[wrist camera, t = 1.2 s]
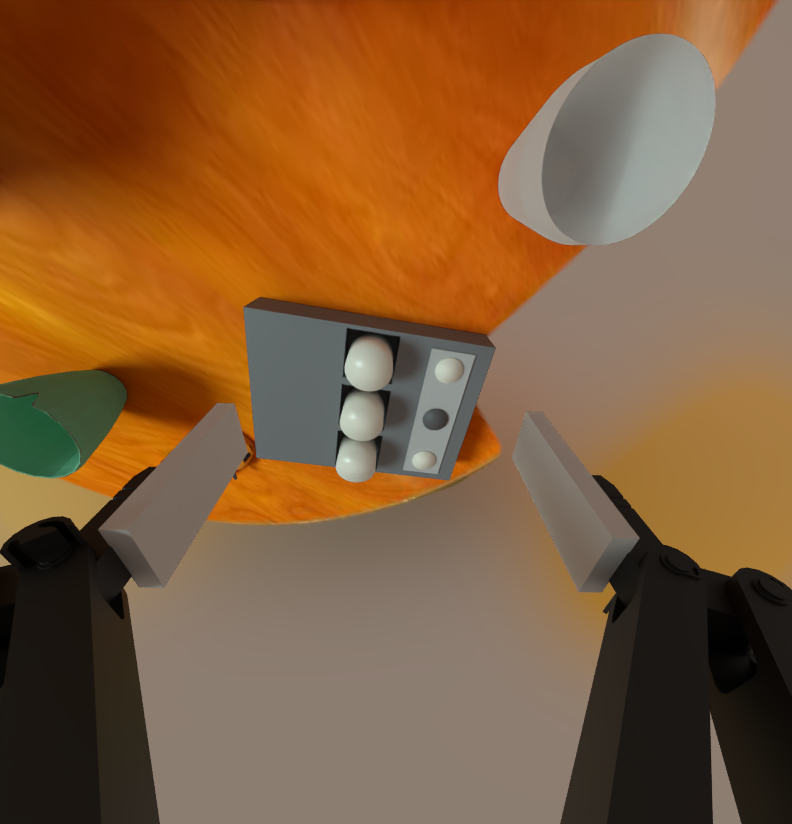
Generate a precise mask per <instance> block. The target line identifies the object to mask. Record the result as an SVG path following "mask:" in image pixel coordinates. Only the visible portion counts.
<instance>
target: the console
mask: <svg viewBox="0 0 792 824" xmlns="http://www.w3.org/2000/svg"><path fill="white" fill-rule="evenodd" d="M243 308H244V319H245V331H246V342H247V354H248V365H249V377H250V388H251V400H252V411H253V423H254V434H255V446H256V458H263V459H271V460H280V461H288V462H297V463H305V464H314V465H322V466H331V467H336V462H337V458H338V454H339V449H340V445H341V441H342V439H343V437H344V436H345V434H344V433H343V431H342V429H341V427H340V418H341V414H342V410H343V406H344V402H345V398H346V396H347V394H348V393H349V392H350V391H351V390H352V389H354V388H356V387H354V386H353V385H352V384H351V383H350V382H349V381H348V379H347V377H346V375H345V362H346V359H347V356H348V353H349V350H350V347H351V344H352V342H353V341H354V340H355V339H356V338H357V337H358V336H360V335H362V334H365V333H376V334H379V335H381V336H383V337H384V338H385V339H387V341H388V342H389V343H390V345H391V347H392V351H393V373H392V377H391V379H390V381H389V383H388V384H387V385H386V386H385V387H383V388H381V389H379V390H377V391H378V392H379V393H380V394H381V396H382V397H383V400H384V419H383V429H382V431H381V433H380V434H379V435H378V436H377V437H376V438H374V439H375V440H376V443H377V453H376V468H375V472H382V473H390V474H399V475H407V476H416V477H424V478H433V479H441V480H449V479H450V477H451V474H452V471H453V468H454V465H455V462H456V460H457V457H458V454H459V451H460V448H461V445H462V442H463V440H464V437H465V434H466V431H467V428H468V425H469V423H470V420H471V417H472V414H473V411H474V408H475V406H476V403H477V399H478V397H479V394H480V391H481V388H482V386H483V383H484V380H485V377H486V374H487V371H488V368H489V366H490V363H491V360H492V357H493V354H494V351H495V349H496V348H495V346H494V345H493V344H492V343H491V341H490V340H489V339H488V337H487V336H486V335H483V334H477V333H471V332H465V331H459V330H453V329H447V328H441V327H435V326H429V325H423V324H417V323H411V322H405V321H399V320H393V319H387V318H381V317H375V316H369V315H363V314H357V313H351V312H345V311H339V310H333V309H327V308H321V307H315V306H309V305H303V304H297V303H291V302H284V301H278V300H272V299H266V298H260V297H259V298H257V299H256V300H254V301H252V302H251V303H249V304H248V305H246V306H244V307H243Z"/></svg>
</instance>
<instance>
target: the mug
mask: <svg viewBox="0 0 792 824" xmlns="http://www.w3.org/2000/svg"><path fill="white" fill-rule="evenodd" d="M126 400H127V391H126V388H125V387H124V385H123V384H122V383H121V382H120V381H119V380H118V379H117V378H116V377H114V376H112V375H111V374H109V373H107V372H104V371H100V370H84V371H71V372H64V373H57V374H50V375H43V376H37V377H32V378H27V379H22V380H17V381H12V382H8V383H4V384H0V464H1V465H3V466H5V467H7V468H10V469H12V470H14V471H16V472H20V473H23V474H27V475H30V476H34V477H43V478H58V477H66V476H68V475H70V474H72V473H73V472H75V471H77V470H78V469H79V468H81V467H82V466H83V465H84V464H85V462H86V461H87V460H88V458H89V457H90V456H91V455H92V453H93V452H94V451H95V450H96V448H97V447H98V446H99V445H100V443H101V442H102V441H103V439H104V438H105V437H106V436H107V434H108V433H109V431H110V430H111V428H112V427H113V425H114V423H115V422H116V420H117V418H118V417H119V415H120V413H121V411H122V409H123V407H124V405H125V402H126Z"/></svg>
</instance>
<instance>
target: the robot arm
mask: <svg viewBox="0 0 792 824" xmlns="http://www.w3.org/2000/svg"><path fill="white" fill-rule="evenodd" d="M247 452H248V451H247V447H246V444H245V440H244V436H243V433H242V429H241V425H240V422H239V418H238V414H237V411H236V407H235V404H232V403H217V404H216V405H215V406H214V407H213V408H212V409H211V410H210V411H209V412H208V413H207V414H206V415H205V416H204V418H203V419H202V420H201V421H200V422H199V423H198V424H197V425H196V426H195V427H194V428H193V429H192V430H191V431H190V432H189V433H188V435H187V436H186V437H185V438H184V439H183V440H182V441H181V442H180V443H179V444H178V445H177V446H176V447H175V448H174V449H173V450H172V452H171V453H170V454H169V455H168V456H167V457H166V458H165V459H164V460H163V461H162V462H161V463H160V464H159V465H158V466H157V467H148V468H147V469H145V470H143V471H142V472H140V473H139V474H137V475H136V476H134V477H133V478H132V479H131V480H130V481H129V482H128V483H127V484H126V485H125V486H124V487H123V488H122V490H120V491H119V492H118V493H117V494H116V495H115V496H114V497H113V500H110V501H109V502H108V503H107V504H106V505H105V506H104V507H103V508H102V509H101V510H100V511H99V512H98V513H97V514H96V515H95V516H94V517H93V518H92V519H91V520H90V521H89V522H88V523H87V524H86V525H85V526H84V527H83V528H82V529H81V530H80V531H79V530H78V528H77V527H76V526H75V525H74V523H73V522H72V521H71V519H70V518H66V517H63V516H61V517H51V518H47V519H44V520H40V521H38V522H36V523H33V524H31V525H29V526H27V527H25V528H23V529H22V530H20V531H19V532H17V533H16V534H14V535H13V536H12V537H11V538H9V539H8V540H7V541H6V542H5V543H4V544H3V546H2V548H1V550H0V554H1V555H2V556H3V557H4V558H5V559H6V560H7V561H8V562H9V563H11V565H7V566H3V567H0V824H160V822H159V815H158V808H157V801H156V794H155V787H154V780H153V774H152V766H151V759H150V752H149V745H148V738H147V731H146V724H145V717H144V710H143V703H142V696H141V689H140V682H139V675H138V668H137V661H136V654H135V647H134V640H133V633H132V626H131V619H130V612H129V605H128V598H127V593H126V592H125V590H124V588H123V587H124V586H125V585H126V583H127V582H128V581H129V579H130V578H131V577H132V578H133V580H134V581H135V582H136V584H137V585H138V587H153V588H160V587H161V588H164V587H165V585H166V584H167V582H168V581H169V579H170V577H171V576H172V574H173V572H174V571H175V569H176V568H177V566H178V564H179V563H180V561H181V560H182V558H183V556H184V555H185V553H186V551H187V550H188V548H189V546H190V545H191V543H192V542H193V540H194V538H195V537H196V535H197V534H198V532H199V530H200V529H201V527H202V525H203V524H204V522H205V521H206V519H207V517H208V516H209V514H210V512H211V511H212V509H213V508H214V506H215V504H216V503H217V501H218V499H219V498H220V496H221V495H222V493H223V491H224V490H225V488H226V486H227V485H228V483H229V482H230V480H231V478H232V477H233V475H234V473H235V472H236V470H237V469H238V467H239V465H240V464H241V462H242V460H243V459H244V457H245V456H246V454H247ZM512 459H513V461H514V463H515V465H516V467H517V469H518V471H519V473H520V475H521V477H522V479H523V481H524V483H525V485H526V487H527V489H528V491H529V493H530V495H531V497H532V499H533V501H534V503H535V505H536V508H537V510H538V512H539V514H540V515H541V518H542V519H543V521H544V524H545V526H546V527H547V530H548V532H549V533H550V536H551V538H552V540H553V542H554V544H555V546H556V548H557V550H558V552H559V554H560V556H561V558H562V560H563V562H564V564H565V566H566V568H567V570H568V572H569V574H570V576H571V578H572V580H573V582H574V584H575V586H576V588H577V590H578V592H602V591H603V590H604V588H605V587H606V585H607V584H608V583H609V582H610V584H611V585H612V587H613V588H614V590H615V592H616V594H615V595H614V596H613V598H612V599H611V600H610V602H609V603H608V604H607V606H606V607H605V609H604V610H603V612H604V613H606V614H607V613H608V611H609V614H608V619H607V623H606V627H605V632H604V636H603V641H602V645H601V650H600V654H599V658H598V663H597V667H596V671H595V675H594V680H593V684H592V688H591V693H590V697H589V701H588V706H587V710H586V714H585V719H584V723H583V727H582V732H581V736H580V741H579V745H578V750H577V754H576V758H575V762H574V767H573V771H572V775H571V780H570V784H569V788H568V793H567V797H566V802H565V806H564V810H563V815H562V819H561V823H560V824H713V811H712V775H711V736H710V713H711V716H712V719H713V723H714V727H715V730H716V734H717V737H718V741H719V745H720V748H721V752H722V755H723V759H724V762H725V766H726V770H727V773H728V777H729V780H730V784H731V788H732V791H733V794H734V798H735V802H736V805H737V809H738V813H739V816H740V820H741V823H742V824H792V590H791V589H790V588H789V587H788V586H786V585H785V584H784V583H783V582H781V581H779V580H778V579H776V578H775V577H773V576H771V575H769V574H767V573H764V572H762V571H760V570H756V569H751V568H741V569H739V570H738V571H737V572H736V573H735V574H734V575H733V576H732V577H730V576H727V575H723V574H720V573H716V572H713V571H709V570H705V569H701V568H700V567H699V566H698V564H697V563H696V562H695V561H694V560H692V559H691V558H690V557H689V556H688V555H686V554H684V553H683V552H681V551H679V550H677V549H675V548H672V547H670V546H667V545H663V544H662V543H661V542H660V541H659V539H658V538H657V537H656V536H655V535H654V533H653V532H652V531H651V530H650V528H649V527H648V526H647V525H646V524H645V522H644V521H643V520H642V519H641V518H640V516H639V515H638V514H637V513H636V511H635V510H634V509H632V508H631V505H630V504H629V503H628V502H627V501H626V500H625V499H623V496H622V494H621V493H620V492H619V491H618V490H617V488H616V487H615V486H614V485H613V484H611V483H610V482H609V481H607V480H606V479H604V478H603V477H602V476H601V475H599V476H598V475H591V474H590V473H589V472H588V470H587V469H586V468H585V466H584V465H583V464H582V463H581V461H580V460H579V459H578V457H577V456H576V455H575V454H574V452H573V451H572V450H571V448H570V447H569V446H568V444H567V443H566V442H565V440H564V439H563V438H562V437H561V435H560V434H559V433H558V431H557V430H556V429H555V427H554V426H553V425H552V423H551V422H550V421H549V420H548V418H547V417H546V416H545V414H544V413H543V412H531V411H526V413H525V416H524V420H523V423H522V426H521V430H520V433H519V436H518V439H517V443H516V446H515V450H514V453H513V456H512Z"/></svg>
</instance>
